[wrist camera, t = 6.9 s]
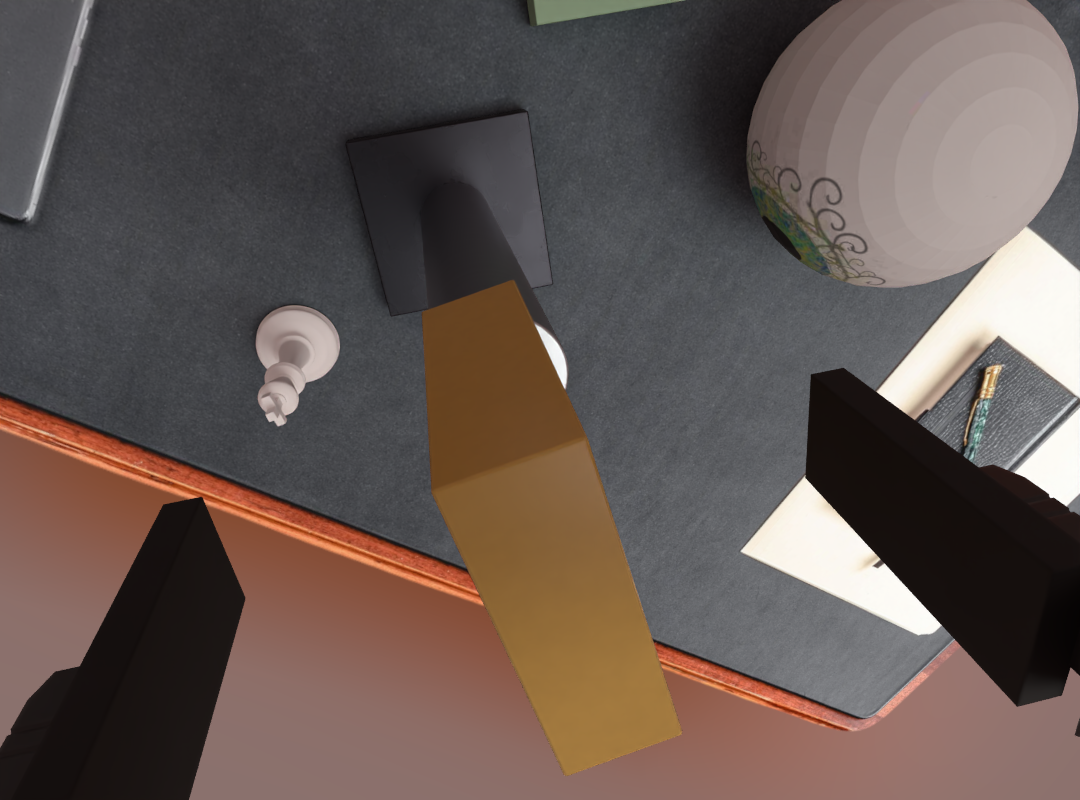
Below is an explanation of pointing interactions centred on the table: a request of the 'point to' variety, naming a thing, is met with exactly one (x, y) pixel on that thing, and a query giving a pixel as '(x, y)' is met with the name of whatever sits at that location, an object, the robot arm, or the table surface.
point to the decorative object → (911, 136)
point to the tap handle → (539, 531)
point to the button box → (582, 8)
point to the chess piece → (293, 356)
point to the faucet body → (456, 214)
